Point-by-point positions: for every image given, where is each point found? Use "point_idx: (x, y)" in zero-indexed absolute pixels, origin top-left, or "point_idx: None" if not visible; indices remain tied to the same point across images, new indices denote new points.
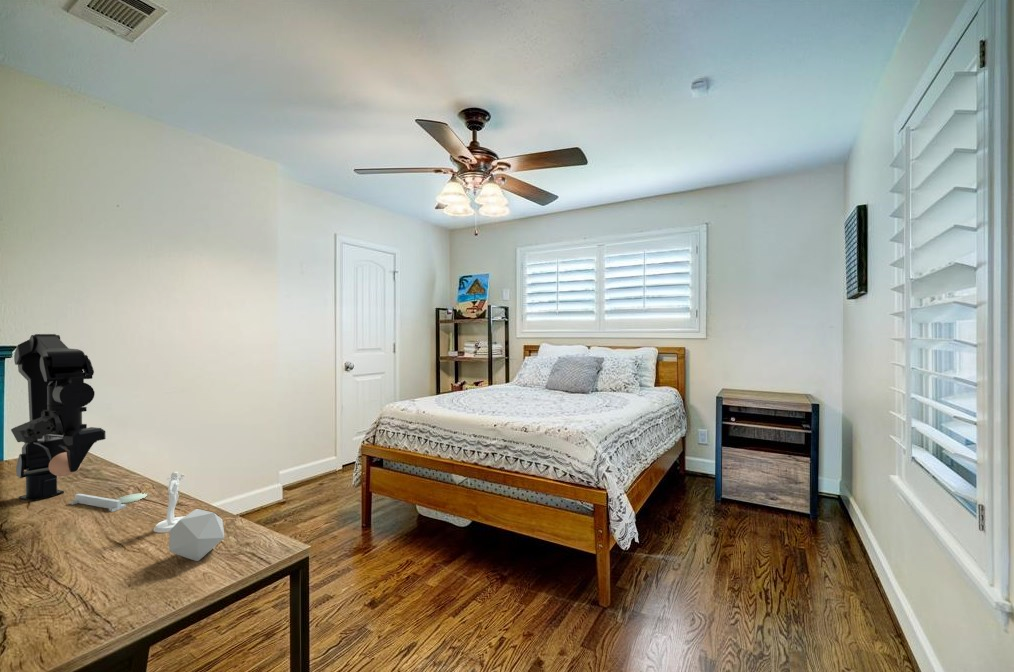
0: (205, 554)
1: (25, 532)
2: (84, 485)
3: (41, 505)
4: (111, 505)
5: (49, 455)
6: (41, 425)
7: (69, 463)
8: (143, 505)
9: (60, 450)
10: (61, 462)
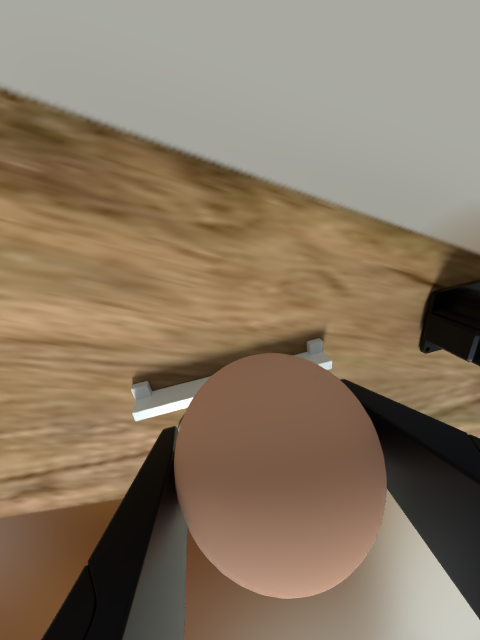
0: None
1: (146, 187)
2: (429, 387)
3: (380, 295)
4: (164, 395)
5: (465, 449)
6: None
7: (142, 493)
8: (119, 438)
9: (464, 545)
10: (195, 467)
